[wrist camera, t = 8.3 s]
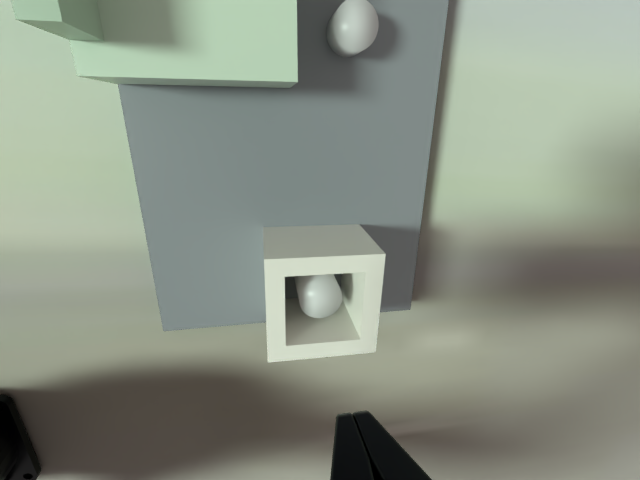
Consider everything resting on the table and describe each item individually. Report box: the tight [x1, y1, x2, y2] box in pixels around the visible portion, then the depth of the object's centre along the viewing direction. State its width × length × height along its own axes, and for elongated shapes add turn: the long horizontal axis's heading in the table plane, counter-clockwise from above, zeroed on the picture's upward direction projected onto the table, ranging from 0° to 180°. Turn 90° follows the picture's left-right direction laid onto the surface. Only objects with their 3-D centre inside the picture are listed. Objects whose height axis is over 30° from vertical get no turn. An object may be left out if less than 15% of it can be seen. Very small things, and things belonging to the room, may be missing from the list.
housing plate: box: [118, 0, 449, 331], centre depth 14 cm, size 20×14×4 cm
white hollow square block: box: [263, 224, 386, 362], centre depth 16 cm, size 5×5×4 cm
